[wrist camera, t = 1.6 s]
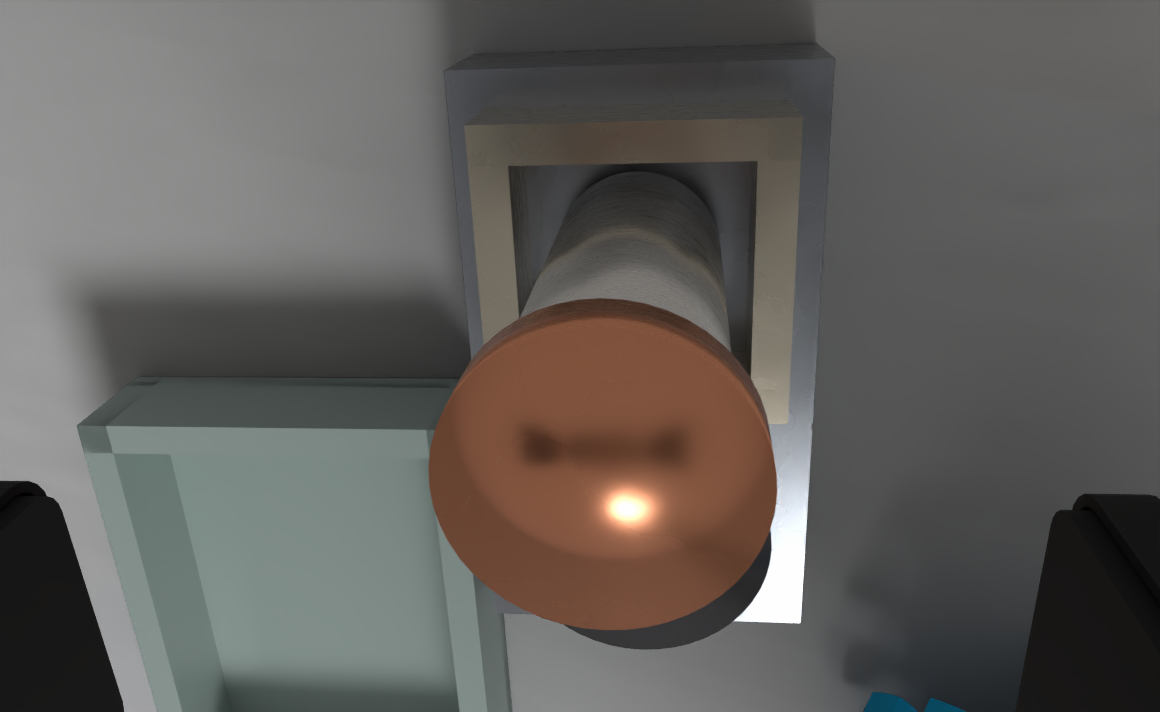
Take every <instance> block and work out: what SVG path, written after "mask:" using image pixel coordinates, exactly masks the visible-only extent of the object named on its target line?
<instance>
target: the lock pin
mask: <svg viewBox="0 0 1160 712" xmlns="http://www.w3.org/2000/svg"><path fill="white" fill-rule="evenodd" d="M428 470H429V488H430V493H431V498H432V503H433V507H434V510H435V513H436V516H437V519H438V522H439V524H440V526H441V528H442V530H443V532H444V534H445V536H446V538H447V540H448V542H449V544H450V545H451V547H452V548H453V550H454V551H455V552H456V554H457V555H458V557H459V558H460V560H461V561H462V562H463V563H464V564H465V565H466V566H467V568H468V569H469V570H470V571H471V572H472V573H473V574H474V575H475V576H476V577H477V578H478V579H479V580H480V581H482V582H483V583H484V584H485V585H486V586H487V587H488V588H490V589H491V590H492V591H494V592H495V593H497V594H498V595H499V596H501V597H502V598H504V599H505V600H507V601H509V602H510V603H512V604H514V605H516V606H518V607H519V608H521V609H523V610H525V611H528V612H530V613H532V614H535V615H537V616H539V617H542V618H544V619H548V620H551V621H554V622H558V623H561V624H565V625H570V626H575V627H580V628H586V629H598V630H629V629H637V628H645V627H650V626H654V625H658V624H663V623H667V622H670V621H673V620H675V619H678V618H681V617H684V616H686V615H689V614H691V613H693V612H695V611H696V610H698V609H700V608H702V607H704V606H706V605H708V604H709V603H711V602H712V601H714V600H715V599H717V598H718V597H720V596H721V595H723V594H724V593H725V592H726V591H727V590H728V589H729V588H731V587H732V586H733V585H734V584H735V583H736V582H737V581H738V580H739V579H740V578H741V577H742V576H743V574H744V573H745V572H746V571H747V570H748V569H749V568H750V566H751V565H752V563H753V562H754V560H755V559H756V557H757V556H758V554H759V552H760V551H761V549H762V547H763V545H764V543H765V540H766V538H767V536H768V534H769V531H770V528H771V524H772V521H773V517H774V514H775V507H776V499H777V472H776V466H775V460H774V454H773V448H772V442H771V435H770V430H769V424H768V419H767V414H766V411H765V409H764V406H763V403H762V400H761V397H760V395H759V393H758V391H757V389H756V387H755V385H754V383H753V381H752V379H751V378H750V376H749V375H748V373H747V372H746V371H745V369H744V368H743V366H742V365H741V364H740V362H739V361H738V360H737V359H736V358H735V357H734V355H733V354H732V353H731V345H730V335H729V325H728V315H727V305H726V295H725V285H724V275H723V265H722V256H721V246H720V238H719V233H718V229H717V226H716V223H715V221H714V219H713V217H712V215H711V213H710V211H709V209H708V208H707V206H706V205H705V204H704V202H703V201H702V200H701V199H700V198H699V197H698V196H697V195H696V194H695V193H694V192H693V191H692V190H691V189H689V188H688V187H687V186H685V185H683V184H682V183H680V182H679V181H676V180H674V179H672V178H670V177H667V176H664V175H661V174H657V173H651V172H639V171H636V172H625V173H620V174H616V175H613V176H610V177H607V178H605V179H603V180H601V181H599V182H597V183H595V184H594V185H592V186H591V187H589V188H588V189H586V190H585V191H584V192H583V193H582V194H581V195H580V196H579V197H578V198H577V199H576V201H575V202H574V203H573V204H572V206H571V207H570V209H569V210H568V212H567V214H566V216H565V218H564V220H563V222H562V225H561V227H560V229H559V231H558V234H557V236H556V238H555V240H554V243H553V245H552V247H551V249H550V252H549V254H548V256H547V258H546V261H545V263H544V265H543V267H542V269H541V272H540V274H539V276H538V278H537V281H536V283H535V285H534V287H533V290H532V292H531V294H530V296H529V299H528V301H527V303H526V305H525V308H524V310H523V312H522V314H521V316H520V318H519V319H517V320H516V321H514V322H513V323H511V324H510V325H508V326H507V327H505V328H504V329H502V330H501V331H499V332H498V333H497V334H496V335H495V336H493V337H492V338H491V339H490V340H489V341H488V342H487V343H485V344H484V345H483V347H482V348H481V349H480V350H479V351H478V352H477V354H476V355H475V356H474V357H473V358H472V360H471V361H470V363H469V364H468V366H467V367H466V369H465V371H464V372H463V374H462V375H461V377H460V379H459V381H458V383H457V385H456V387H455V389H454V391H453V392H452V394H451V396H450V398H449V400H448V402H447V404H446V406H445V408H444V410H443V412H442V414H441V417H440V419H439V421H438V424H437V426H436V428H435V432H434V436H433V439H432V443H431V447H430V456H429V466H428Z"/></svg>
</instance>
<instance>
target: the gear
mask: <svg viewBox="0 0 1160 712" xmlns="http://www.w3.org/2000/svg"><path fill="white" fill-rule="evenodd" d="M863 712H917V710H916V709H915V708H914V707H913V706H912V705H910V704H909V703H908V702H906V701H905V700H903V699H902V698H900V697H898V696H894V695H891V694H887V693H880V692H873V693H872V695H871V697H870V699H869V701H868V703H867V705H866V707H865V709H864V711H863ZM924 712H966V711H964V710H962V709H960V708H957V707H955V706H953V705H950V704H948V703H945V702H942V701H940V700H937V699H934V698H930V699H929V702H928V704H927V706H926V708H925V710H924Z"/></svg>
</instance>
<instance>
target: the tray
mask: <svg viewBox="0 0 1160 712" xmlns="http://www.w3.org/2000/svg"><path fill="white" fill-rule="evenodd" d="M458 381H459V379H418V378H247V377H137V378H136V379H135V380H133V381H132V382H131V383H130V384H128V385H127V386H126V387H125V388H123V389H122V390H121V391H120V392H118V393H117V394H116V395H115V396H113V397H112V398H111V399H109V400H108V401H107V402H106V403H104V404H103V405H102V406H101V407H99V408H98V409H97V410H96V411H94V412H93V413H92V414H91V415H89V416H88V417H87V418H86V419H84V420H83V421H82V422H81V423H79V424H78V425H77V429H78V432H79V436H80V440H81V443H82V447H83V450H84V454H85V457H86V461H87V464H88V468H89V472H90V475H91V479H92V482H93V486H94V489H95V493H96V496H97V500H98V504H99V507H100V511H101V514H102V518H103V521H104V525H105V528H106V532H107V535H108V539H109V543H110V546H111V550H112V553H113V557H114V560H115V564H116V567H117V571H118V575H119V578H120V582H121V585H122V589H123V592H124V596H125V599H126V603H127V607H128V610H129V614H130V617H131V621H132V624H133V628H134V631H135V635H136V639H137V642H138V646H139V649H140V653H141V656H142V660H143V663H144V667H145V670H146V674H147V678H148V681H149V685H150V688H151V692H152V695H153V699H154V702H155V706H156V710H157V712H512V702H511V691H510V680H509V669H508V658H507V647H506V636H505V625H504V614H503V613H495V605H494V594H493V591H492V590H491V589H490V588H488V587H487V586H486V585H485V584H484V583H483V582H482V581H480V580H479V579H478V578H477V577H476V576H475V575H474V574H473V573H472V572H471V571H470V570H469V569H468V568H467V566H466V565H465V564H464V563H463V562H462V561H461V560H460V558H459V557H458V555H457V554H456V552H455V551H454V550H453V548H452V547H451V545H450V544H449V542H448V540H447V538H446V536H445V534H444V532H443V530H442V528H441V526H440V524H439V522H438V519H437V516H436V513H435V510H434V507H433V503H432V498H431V493H430V488H429V470H428V466H429V456H430V447H431V443H432V439H433V436H434V432H435V428H436V426H437V424H438V421H439V419H440V417H441V414H442V412H443V410H444V408H445V406H446V404H447V402H448V400H449V398H450V396H451V394H452V392H453V391H454V389H455V387H456V385H457V383H458Z"/></svg>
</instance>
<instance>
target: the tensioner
mask: <svg viewBox="0 0 1160 712" xmlns="http://www.w3.org/2000/svg"><path fill="white" fill-rule="evenodd" d="M834 66H835V58H834V57H833V56H832V55H830V54H829V53H828V52H827V51H826V50H824V49H823V48H822V47H821V46H820V45H818V44H817V43H809V44H779V45H748V46H718V47H688V48H657V49H627V50H597V51H567V52H536V53H506V54H476V55H472V56H470V57H468V58H466V59H464V60H462V61H460V62H459V63H457V64H455V65H453V66H451V67H449V68H448V69H446V70H444V78H445V89H446V99H447V110H448V120H449V131H450V141H451V152H452V162H453V173H454V183H455V194H456V204H457V215H458V226H459V236H460V247H461V257H462V268H463V278H464V289H465V299H466V310H467V320H468V331H469V341H470V352H471V360H472V358H473V357H474V356H475V355H476V354H477V352H478V351H479V350H480V349H481V348H482V347H483V345H484V344H485V343H487V342H488V341H489V340H490V339H491V338H492V337H493V336H495V335H496V334H497V333H498V332H499V331H501V330H502V329H504V328H505V327H507V326H508V325H510V324H511V323H513V322H514V321H516V320H517V319H519V318H520V316H521V314H522V312H523V310H524V308H525V305H526V303H527V301H528V299H529V296H530V294H531V292H532V290H533V287H534V285H535V283H536V281H537V278H538V276H539V274H540V272H541V269H542V267H543V265H544V263H545V261H546V258H547V256H548V254H549V252H550V249H551V247H552V245H553V243H554V240H555V238H556V236H557V234H558V231H559V229H560V227H561V225H562V222H563V220H564V218H565V216H566V214H567V212H568V210H569V209H570V207H571V206H572V204H573V203H574V202H575V201H576V199H577V198H578V197H579V196H580V195H581V194H582V193H583V192H584V191H585V190H586V189H588V188H589V187H591V186H592V185H594V184H595V183H597V182H599V181H601V180H603V179H605V178H607V177H610V176H613V175H616V174H620V173H625V172H636V171H639V172H651V173H657V174H661V175H664V176H667V177H670V178H672V179H674V180H676V181H679V182H680V183H682V184H683V185H685V186H687V187H688V188H689V189H691V190H692V191H693V192H694V193H695V194H696V195H697V196H698V197H699V198H700V199H701V200H702V201H703V202H704V204H705V205H706V206H707V208H708V209H709V211H710V213H711V215H712V217H713V219H714V221H715V223H716V226H717V229H718V233H719V238H720V246H721V256H722V265H723V275H724V285H725V295H726V305H727V315H728V325H729V335H730V345H731V353H732V354H733V355H734V357H735V358H736V359H737V360H738V361H739V362H740V364H741V365H742V366H743V368H744V369H745V371H746V372H747V373H748V375H749V376H750V378H751V379H752V381H753V383H754V385H755V387H756V389H757V391H758V393H759V395H760V397H761V400H762V403H763V406H764V409H765V411H766V414H767V419H768V424H769V430H770V435H771V442H772V448H773V454H774V460H775V466H776V472H777V499H776V507H775V514H774V517H773V521H772V524H771V528H770V531H769V534H768V536H767V538H766V540H765V543H764V545H763V547H762V549H761V551H760V552H759V554H758V556H757V557H756V559H755V560H754V562H753V563H752V565H751V566H750V568H749V569H748V570H747V571H746V572H745V573H744V574H743V576H742V577H741V578H740V579H739V580H738V581H737V582H736V583H735V584H734V585H733V586H732V587H731V588H729V589H728V590H727V591H726V592H725V593H724V594H723V595H721V596H720V597H718V598H717V599H715V600H714V601H712V602H711V603H709V604H708V605H706V606H704V607H702V608H700V609H698V610H696V611H695V612H693V613H691V614H689V615H686V616H684V617H681V618H678V619H675V620H673V621H670V622H667V623H663V624H658V625H654V626H650V627H645V628H637V629H629V630H598V629H586V628H580V627H575V626H570V625H565V624H564V625H565V626H567V627H568V628H570V629H572V630H574V631H576V632H577V633H579V634H581V635H584V636H586V637H588V638H591V639H593V640H596V641H599V642H602V643H605V644H609V645H613V646H618V647H624V648H632V649H663V648H671V647H677V646H681V645H685V644H690V643H692V642H695V641H698V640H701V639H704V638H706V637H708V636H710V635H712V634H714V633H716V632H718V631H720V630H721V629H723V628H724V627H726V626H727V625H729V624H730V623H731V622H733V621H747V622H776V623H801V608H802V592H803V575H804V559H805V542H806V526H807V509H808V493H809V477H810V460H811V444H812V427H813V411H814V395H815V378H816V362H817V345H818V329H819V313H820V296H821V280H822V263H823V247H824V230H825V214H826V198H827V181H828V165H829V148H830V132H831V116H832V99H833V83H834ZM493 594H494V605H495V613H510V614H532V613H530V612H528V611H525V610H523V609H521V608H519V607H518V606H516V605H514V604H512V603H510V602H509V601H507V600H505V599H504V598H502V597H501V596H499V595H498V594H497V593H495V592H494V591H493Z"/></svg>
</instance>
